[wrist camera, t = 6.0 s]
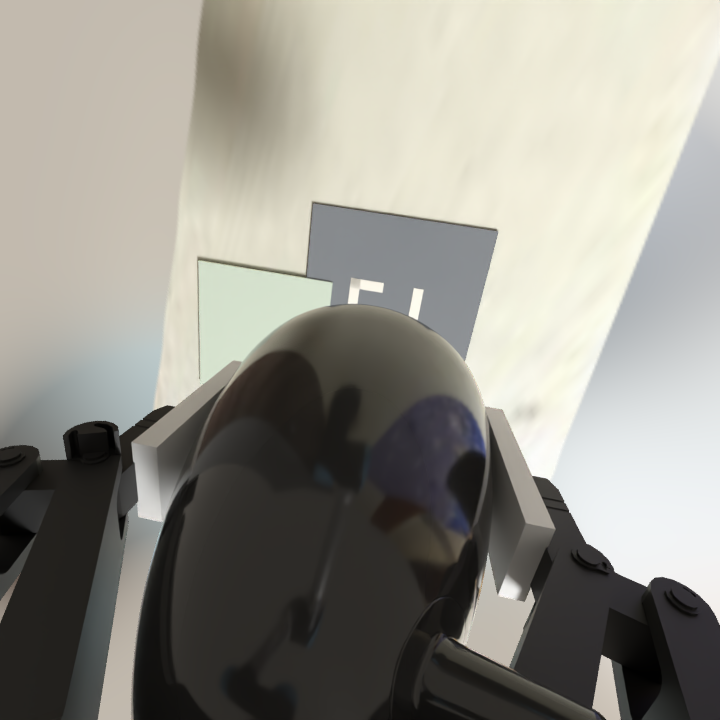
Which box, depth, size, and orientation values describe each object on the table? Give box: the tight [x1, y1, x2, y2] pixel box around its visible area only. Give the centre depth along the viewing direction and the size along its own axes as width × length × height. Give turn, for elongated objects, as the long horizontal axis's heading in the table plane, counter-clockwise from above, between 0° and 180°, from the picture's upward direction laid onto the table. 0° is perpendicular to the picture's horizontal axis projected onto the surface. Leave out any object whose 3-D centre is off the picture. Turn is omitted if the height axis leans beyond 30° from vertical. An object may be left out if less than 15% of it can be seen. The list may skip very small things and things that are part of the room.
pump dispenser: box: [131, 304, 606, 720], centre depth 12 cm, size 10×10×15 cm
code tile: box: [307, 204, 498, 361], centre depth 36 cm, size 16×16×1 cm
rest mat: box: [198, 260, 333, 384], centre depth 39 cm, size 13×13×1 cm
